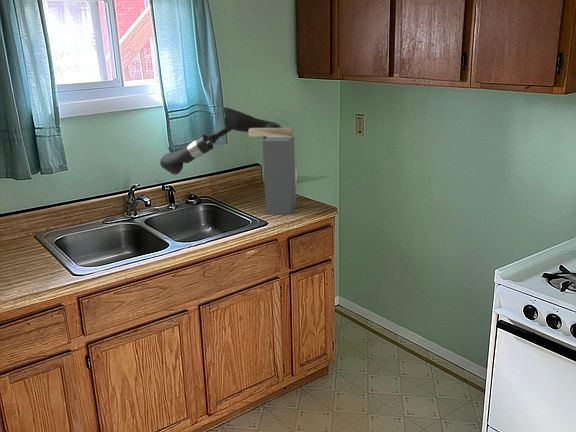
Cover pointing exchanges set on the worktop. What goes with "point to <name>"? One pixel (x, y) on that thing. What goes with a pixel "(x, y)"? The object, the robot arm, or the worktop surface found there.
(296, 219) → the worktop surface
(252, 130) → the birch slat
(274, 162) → the tall grey upright prism
